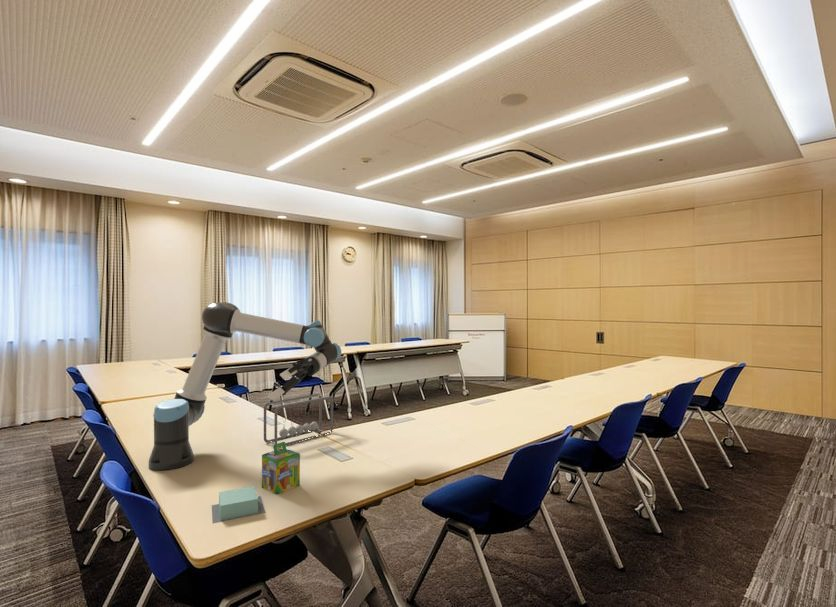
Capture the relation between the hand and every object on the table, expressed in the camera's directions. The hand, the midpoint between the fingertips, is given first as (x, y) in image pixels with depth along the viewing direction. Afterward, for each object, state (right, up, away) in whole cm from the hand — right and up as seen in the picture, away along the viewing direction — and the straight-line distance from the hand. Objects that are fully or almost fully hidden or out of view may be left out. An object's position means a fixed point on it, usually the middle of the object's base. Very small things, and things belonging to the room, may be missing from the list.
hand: (275, 387), depth 164 cm
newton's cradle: (-1, -30, +35) cm, 47 cm away
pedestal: (0, -29, -34) cm, 45 cm away
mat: (0, -30, -34) cm, 46 cm away
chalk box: (+8, -30, -18) cm, 36 cm away
